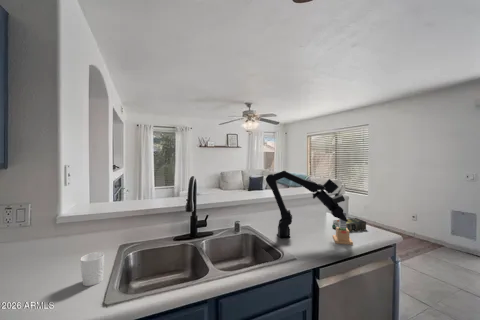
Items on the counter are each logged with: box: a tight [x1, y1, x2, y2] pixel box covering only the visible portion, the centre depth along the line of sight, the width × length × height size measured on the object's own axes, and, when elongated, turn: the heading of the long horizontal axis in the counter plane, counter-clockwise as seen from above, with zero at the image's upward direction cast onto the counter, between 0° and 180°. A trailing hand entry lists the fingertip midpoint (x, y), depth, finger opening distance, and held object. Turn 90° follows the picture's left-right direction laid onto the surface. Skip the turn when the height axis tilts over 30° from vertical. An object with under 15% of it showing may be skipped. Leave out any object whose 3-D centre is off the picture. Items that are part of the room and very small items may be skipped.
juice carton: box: [331, 217, 367, 232], centre depth 149 cm, size 20×10×6 cm, turn 104°
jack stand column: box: [338, 211, 347, 230], centre depth 128 cm, size 3×3×12 cm
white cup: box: [80, 251, 105, 287], centre depth 87 cm, size 8×8×10 cm
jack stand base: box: [332, 227, 354, 246], centre depth 128 cm, size 9×9×7 cm
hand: (345, 218), depth 127 cm, fingers open, 9 cm apart
